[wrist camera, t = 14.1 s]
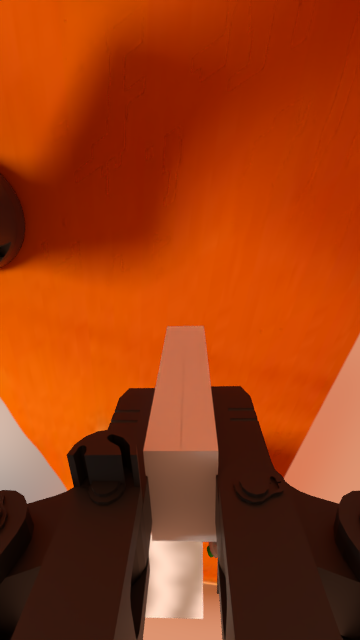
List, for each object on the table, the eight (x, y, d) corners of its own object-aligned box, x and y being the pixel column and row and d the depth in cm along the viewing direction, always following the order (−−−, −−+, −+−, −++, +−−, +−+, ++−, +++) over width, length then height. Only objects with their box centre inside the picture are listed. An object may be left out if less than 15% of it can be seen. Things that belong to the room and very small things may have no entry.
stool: (111, 499, 59) (79, 615, 42) (99, 429, 52) (56, 533, 36) (199, 500, 58) (203, 618, 41) (198, 429, 52) (202, 535, 35)
